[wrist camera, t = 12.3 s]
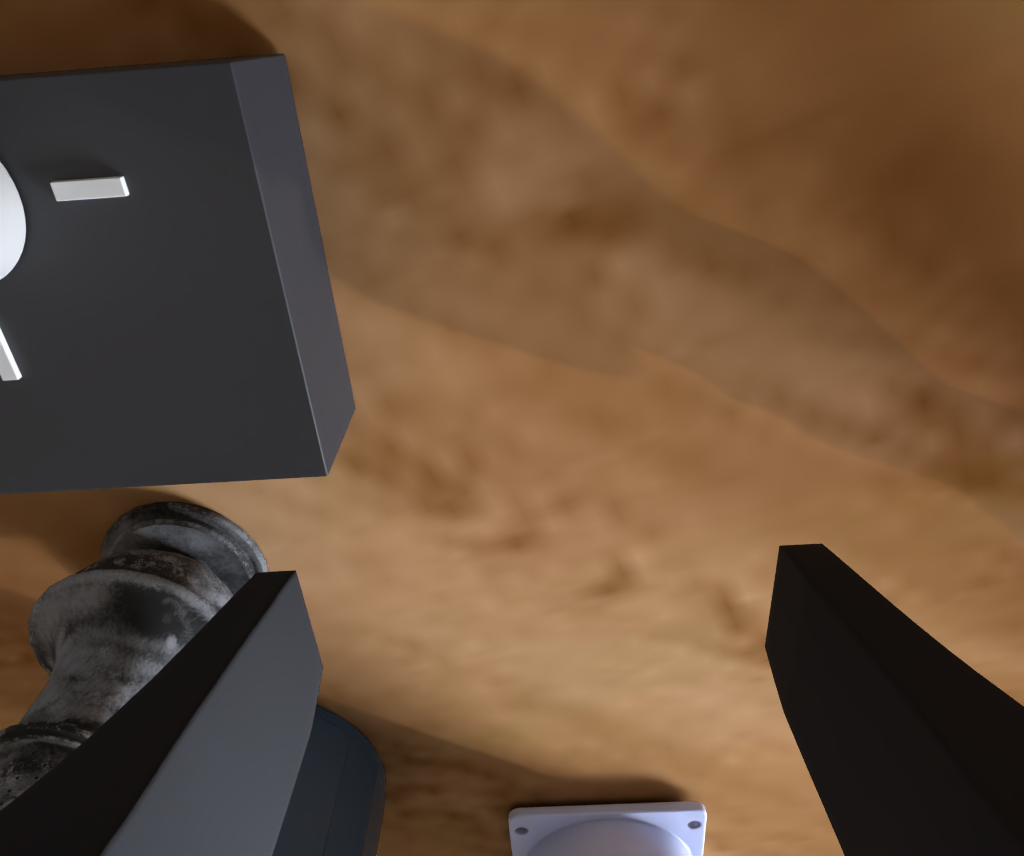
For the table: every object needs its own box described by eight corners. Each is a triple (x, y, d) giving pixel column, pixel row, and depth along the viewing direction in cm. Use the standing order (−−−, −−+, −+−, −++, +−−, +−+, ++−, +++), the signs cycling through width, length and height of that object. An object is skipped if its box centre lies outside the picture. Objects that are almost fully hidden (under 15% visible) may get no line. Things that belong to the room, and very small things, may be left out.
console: (355, 409, 20) (326, 480, 17) (-86, 435, 21) (-194, 509, 18) (264, -49, 15) (198, -67, 12) (-326, 1, 16) (-544, -5, 12)
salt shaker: (137, 642, 25) (-135, 1088, 15) (61, 505, 22) (-346, 938, 12) (300, 625, 25) (142, 1072, 14) (245, 483, 22) (-6, 912, 11)
